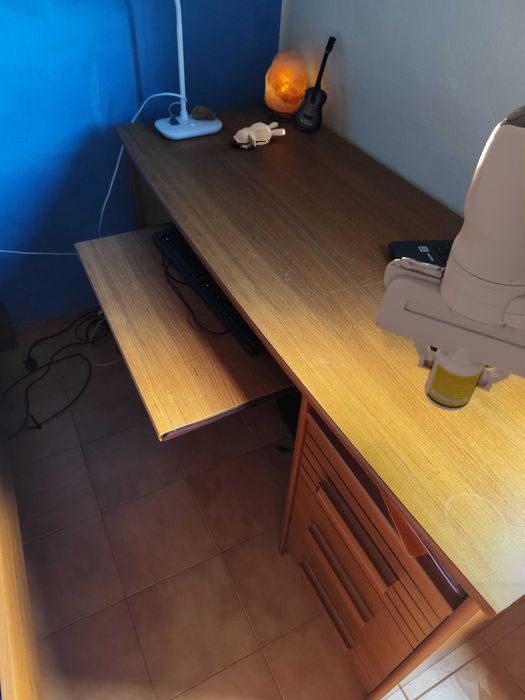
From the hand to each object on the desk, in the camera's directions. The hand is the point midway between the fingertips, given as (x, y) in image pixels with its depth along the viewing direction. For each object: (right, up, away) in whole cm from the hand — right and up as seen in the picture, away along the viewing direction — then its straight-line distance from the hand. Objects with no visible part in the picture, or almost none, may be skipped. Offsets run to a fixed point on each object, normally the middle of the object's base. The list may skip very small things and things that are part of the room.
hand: (454, 375), depth 55 cm
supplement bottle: (0, -3, +3) cm, 4 cm away
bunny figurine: (-24, +67, +89) cm, 114 cm away
